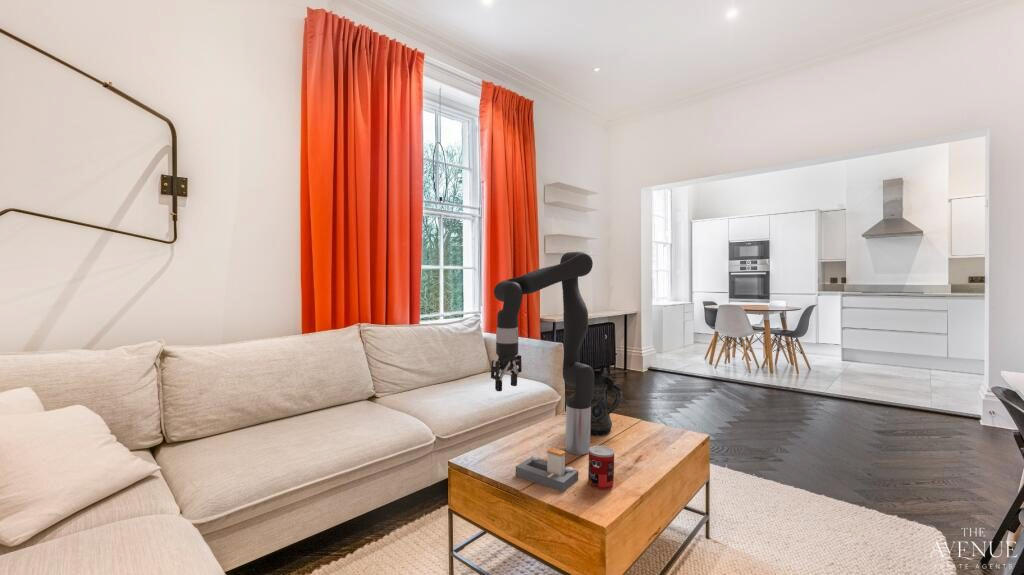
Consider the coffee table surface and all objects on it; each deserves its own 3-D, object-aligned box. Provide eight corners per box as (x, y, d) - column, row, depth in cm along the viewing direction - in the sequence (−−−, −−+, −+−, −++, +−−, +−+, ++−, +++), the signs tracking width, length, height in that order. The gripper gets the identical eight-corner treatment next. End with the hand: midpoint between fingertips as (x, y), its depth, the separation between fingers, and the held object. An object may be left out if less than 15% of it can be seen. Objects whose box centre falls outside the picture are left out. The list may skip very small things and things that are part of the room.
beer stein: (569, 422, 194) (571, 367, 193) (612, 422, 195) (613, 367, 194) (577, 436, 178) (579, 376, 177) (623, 436, 179) (625, 376, 178)
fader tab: (550, 475, 142) (551, 447, 142) (564, 480, 139) (565, 451, 139) (546, 479, 140) (547, 450, 140) (560, 483, 137) (561, 454, 137)
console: (532, 464, 151) (532, 454, 151) (578, 479, 140) (578, 469, 140) (515, 475, 143) (515, 464, 143) (563, 492, 132) (563, 481, 132)
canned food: (585, 478, 141) (586, 445, 141) (609, 477, 142) (610, 445, 142) (591, 490, 134) (592, 455, 133) (616, 489, 134) (617, 455, 134)
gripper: (503, 344, 137) (502, 395, 138) (528, 339, 149) (527, 385, 149) (485, 342, 141) (484, 391, 142) (510, 337, 153) (509, 382, 153)
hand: (506, 388), depth 146 cm, fingers open, 8 cm apart
